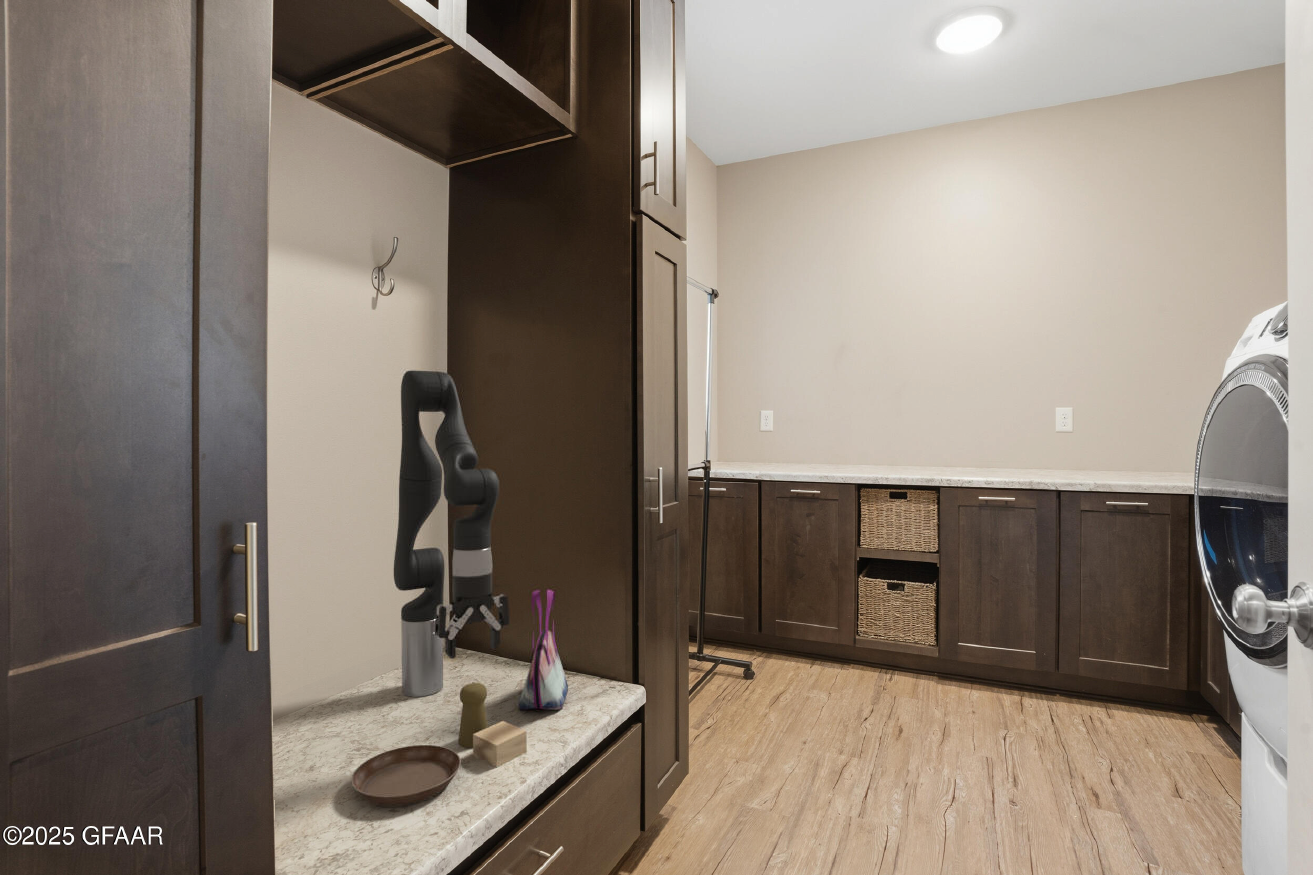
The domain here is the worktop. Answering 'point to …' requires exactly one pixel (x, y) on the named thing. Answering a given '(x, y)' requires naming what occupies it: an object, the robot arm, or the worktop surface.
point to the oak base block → (499, 743)
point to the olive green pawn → (472, 713)
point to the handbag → (544, 667)
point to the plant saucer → (406, 775)
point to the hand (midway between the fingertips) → (473, 652)
